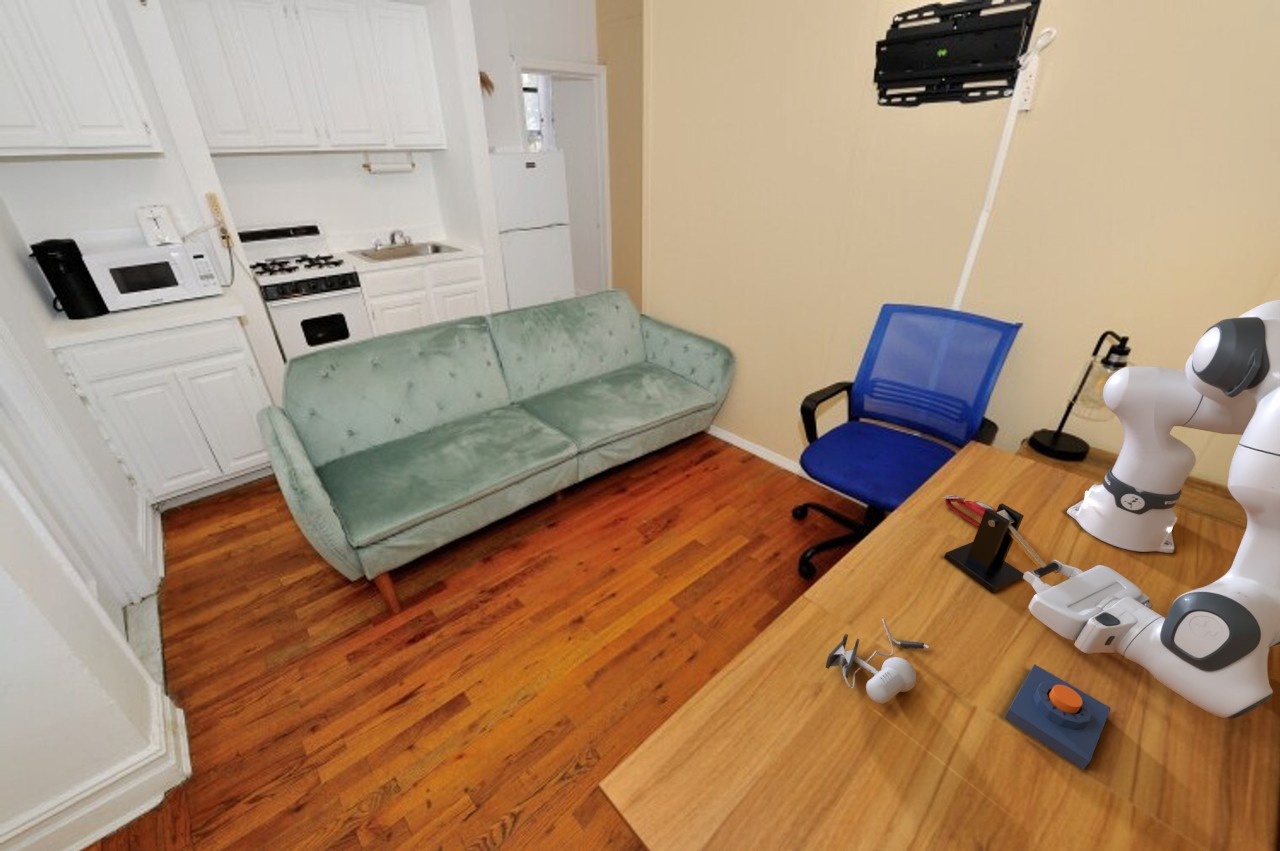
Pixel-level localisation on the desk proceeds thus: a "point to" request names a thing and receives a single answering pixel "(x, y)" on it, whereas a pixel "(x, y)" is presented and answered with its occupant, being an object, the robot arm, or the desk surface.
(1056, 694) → the button
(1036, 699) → the control block
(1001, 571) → the switch bracket
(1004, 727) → the desk surface
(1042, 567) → the switch lever
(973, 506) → the tracker holder
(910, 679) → the clip-on lamp
